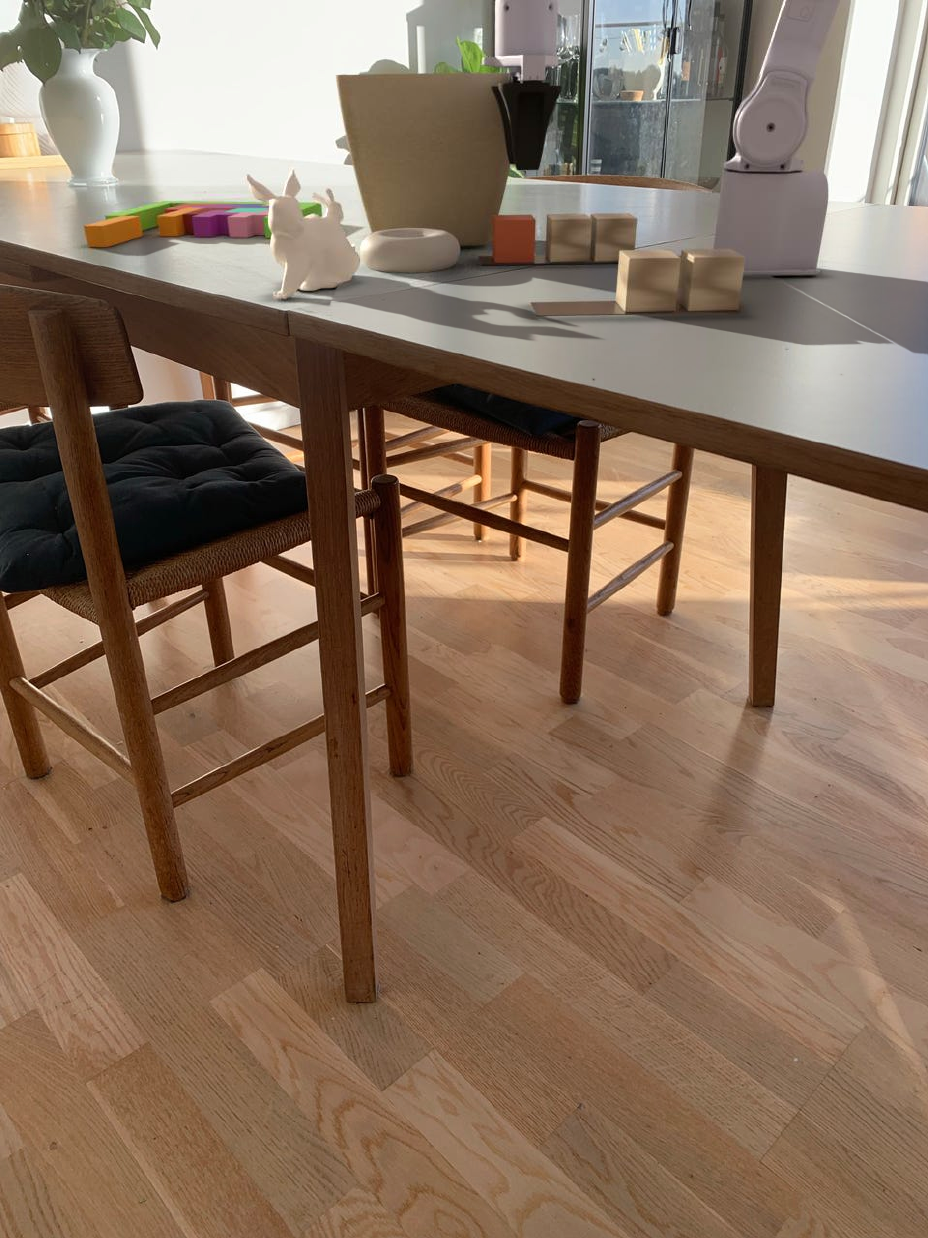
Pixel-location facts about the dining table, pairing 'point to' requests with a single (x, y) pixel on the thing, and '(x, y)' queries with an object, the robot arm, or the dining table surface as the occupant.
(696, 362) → the dining table surface
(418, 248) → the donut
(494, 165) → the flower pot
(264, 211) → the toy blocks
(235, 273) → the dining table surface
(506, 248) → the rust orange cube
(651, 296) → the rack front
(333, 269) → the rabbit figurine
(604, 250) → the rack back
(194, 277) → the dining table surface
